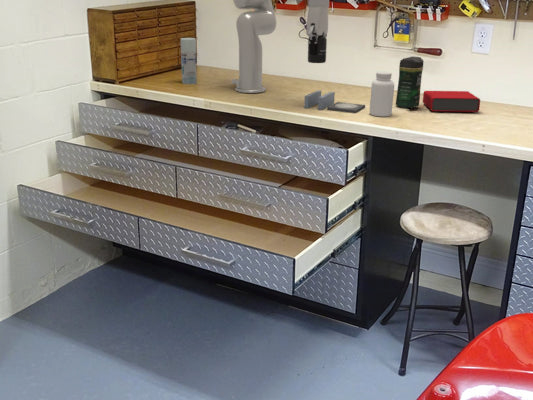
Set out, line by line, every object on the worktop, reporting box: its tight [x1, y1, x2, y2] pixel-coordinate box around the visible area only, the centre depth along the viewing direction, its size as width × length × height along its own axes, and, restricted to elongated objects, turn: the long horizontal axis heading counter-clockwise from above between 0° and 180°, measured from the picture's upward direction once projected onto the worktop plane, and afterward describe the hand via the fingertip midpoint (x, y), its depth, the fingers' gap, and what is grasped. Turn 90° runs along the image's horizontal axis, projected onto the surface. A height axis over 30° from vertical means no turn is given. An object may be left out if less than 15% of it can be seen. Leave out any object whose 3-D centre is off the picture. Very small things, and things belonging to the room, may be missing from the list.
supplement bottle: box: [307, 32, 328, 64], centre depth 234 cm, size 7×7×12 cm
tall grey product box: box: [180, 37, 198, 85], centre depth 273 cm, size 6×6×20 cm
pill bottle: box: [369, 71, 395, 118], centre depth 226 cm, size 8×8×15 cm
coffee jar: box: [395, 56, 424, 109], centre depth 239 cm, size 10×8×19 cm
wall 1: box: [303, 89, 322, 109], centre depth 241 cm, size 2×13×4 cm, turn 153°
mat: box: [326, 101, 366, 114], centre depth 236 cm, size 11×11×1 cm
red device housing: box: [422, 90, 481, 113], centre depth 242 cm, size 18×14×5 cm
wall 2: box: [317, 91, 336, 111], centre depth 239 cm, size 2×13×4 cm, turn 153°
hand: (317, 53), depth 235 cm, fingers closed on supplement bottle, 6 cm apart
